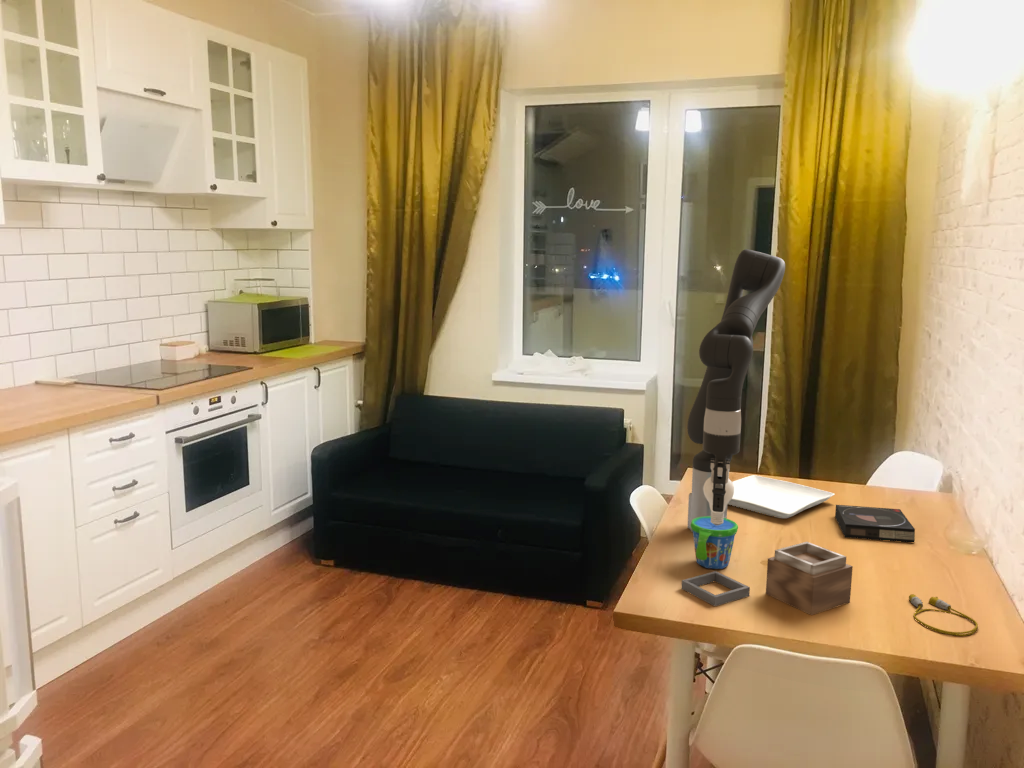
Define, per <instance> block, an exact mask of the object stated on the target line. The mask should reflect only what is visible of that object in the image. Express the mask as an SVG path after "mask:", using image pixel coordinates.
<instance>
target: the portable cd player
mask: <svg viewBox="0 0 1024 768" xmlns="http://www.w3.org/2000/svg"><path fill="white" fill-rule="evenodd" d="M834 511H835V512H834V518H835V519H836V520H835V521H836V523H837V524H838V526H839V528H840V530H841V533H842V535H843V537H844V538H845V539H847V538H849V539H858V540H860V539H861V540H870V539H871V540H872V541H873V540H874V541H883V540H890V541H889V542H895V541H901V542H900V543H908V542H914V543H915V539H916V529H915V527H914V526H913V525H912V523H911V522H910V521H909V519H908V518H907V516H906V515H905V514H904V513H903V511H902V510H901V509H899V508H888V507H873V506H862V505H861V506H859V505H844V504H835V510H834Z"/></svg>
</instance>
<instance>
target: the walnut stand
mask: <svg viewBox="0 0 1024 768" xmlns="http://www.w3.org/2000/svg"><path fill="white" fill-rule="evenodd" d="M766 565H767V567H766V568H767V569H766V580H765V581H766V582H765V583H766V584H765V586H766V587H765V594H766V595H768V596H770V597H772V598H774V599H777V600H778V601H780V602H783V603H785V604H787V605H789V606H792V607H793V608H795V609H797V610H800V611H801V612H804V613H806V614H809V615H811V616H813V615H816V614H819V613H822V612H825V611H829V610H831V609H834V608H837V607H840V606H843V605H845V604H848V603H850V602H851V593H852V581H853V580H852V579H853V578H852V577H853V565H850V564H848V563H847V556H846V555H844V554H841V553H838V552H836V551H832V550H830V549H827V548H825V547H822V546H820V545H817V544H814V543H812V542H809V541H804V542H800V543H797V544H796V543H795V544H793V545H790V546H785V547H781V548H779V549H775V550H774V556H772V557H768V558H767V564H766Z"/></svg>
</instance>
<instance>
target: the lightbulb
mask: <svg viewBox="0 0 1024 768" xmlns="http://www.w3.org/2000/svg"><path fill="white" fill-rule="evenodd" d="M732 482H733V481H732V480H731V479H730V477H729V478H728V483H727V484H726V485H725V490H726V493H725V495H724V508H723V512H714V511H713V492H712V489H713V483H711V477H709V478H708V479H707V480H706V482H705V484H704V487H703V491H704V495H705V497H706V499H707V500H708V502H709V505H710V510H711V523H713V524H714V525H721V524H723V522H724V521H723V520H724V519H723V518H724V517H723V516H724V511H725V510H726V506H727V507H728V503H729V501H730V500H731V499H732V497H733V495H734V485H733V483H732ZM715 488H722V489H723V484H716V485H715Z"/></svg>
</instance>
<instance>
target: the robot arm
mask: <svg viewBox="0 0 1024 768" xmlns="http://www.w3.org/2000/svg"><path fill="white" fill-rule="evenodd" d="M785 271H786V263H785V261H784V259H782V258H781V257H778V256H775V255H771V254H768V253H764V252H760V251H756V250H753V249H746V248H745V249H743V250H742V251H740V253H739V254H738V256H737V258H736V261H735V263H734V267H733V271H732V275H731V279H730V284H729V287H728V293H727V297H726V301H725V306H724V310H723V314H722V316H721V320H720V322H719V323H717V324H716V325H715V326H714V327H713V328H712V329H711V330H709V331H708V332H707V333H706V334H705V336H704V337H703V339H702V341H701V342H700V346H699V349H698V350H699V351H698V355H699V358H700V361H701V362H702V363H703V365H704V366H706V370H705V371H704V376H703V379H702V383H701V384H700V388H699V390H698V392H697V396H696V398H695V399H694V403H693V405H692V407H691V409H690V412H689V415H688V419H687V434H688V436H689V438H690V440H691V441H692V442H693V443H695V444H699V445H702V450H701V451H700V452H698V453H697V454H695V455H694V456H693V458H692V470H691V471H692V474H691V475H692V477H691V478H692V479H691V492H690V493H689V494H688V504H687V505H688V506H687V529H689V530H690V532H691V533H693V530H692V528H691V522H692V520H693V519H695V518H698V517H705V516H711V510H710V505H709V502H708V500H707V499H706V497H705V495H704V491H703V487H704V484H705V482H706V480H707V479H708V478H709V477H711V483H713V489H712V492H713V511H714V512H723V508H724V495H725V493H726V490H725V485H726V484H727V483H728V478H729V479H730V477H729V476H730V469H731V461H732V459H733V456H734V455H737V454H738V453H739V452H740V449H741V447H740V445H741V435H742V434H741V431H742V430H741V429H742V412H741V411H742V410H741V407H742V393H743V386H744V382H745V379H746V375H747V372H748V369H749V368H750V367H749V366H750V364H751V361H752V358H753V355H754V339H753V333H754V331H755V328H756V327H757V324H758V321H759V320H760V318H761V316H762V315H763V313H764V311H765V310H766V309H767V308H768V306H769V304H771V302H772V300H773V298H774V297H775V296H776V294H777V292H778V290H779V288H780V287H781V284H782V282H783V278H784V275H785ZM744 291H747V292H750V293H748V294H745V295H744ZM716 484H723V489H722V488H715V485H716ZM723 517H724V518H726V519H728V518H727V517H728V505H727V506H726V510H725V511H724V516H723Z"/></svg>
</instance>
